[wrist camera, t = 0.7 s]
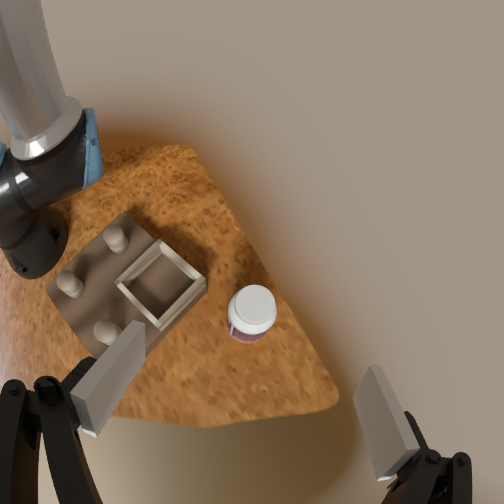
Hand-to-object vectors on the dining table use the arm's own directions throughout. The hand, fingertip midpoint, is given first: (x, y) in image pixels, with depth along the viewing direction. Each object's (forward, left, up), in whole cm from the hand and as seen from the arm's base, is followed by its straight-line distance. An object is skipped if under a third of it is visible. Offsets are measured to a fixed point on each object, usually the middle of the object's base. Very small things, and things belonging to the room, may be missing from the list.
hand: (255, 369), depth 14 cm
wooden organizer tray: (-22, -2, -26) cm, 34 cm away
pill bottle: (-4, +8, -26) cm, 27 cm away
